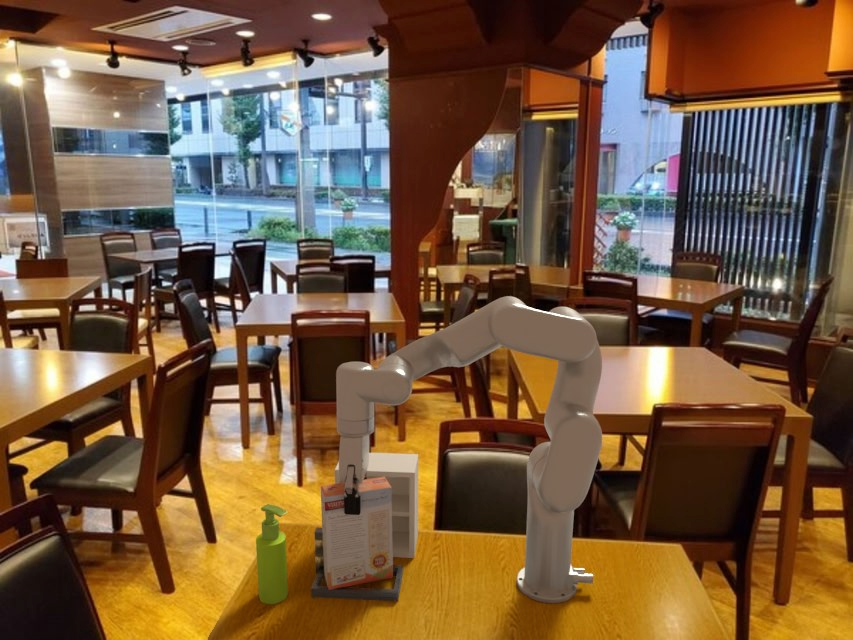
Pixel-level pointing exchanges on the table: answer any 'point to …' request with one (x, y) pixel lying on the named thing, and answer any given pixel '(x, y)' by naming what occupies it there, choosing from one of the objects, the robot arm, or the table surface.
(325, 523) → the cracker box
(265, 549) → the soap dispenser
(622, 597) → the table surface
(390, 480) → the cabinet
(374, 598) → the dark gray rectangular frame
